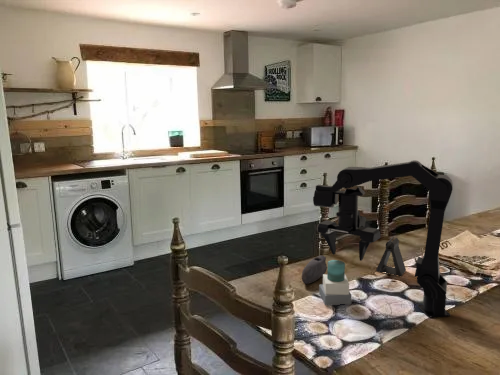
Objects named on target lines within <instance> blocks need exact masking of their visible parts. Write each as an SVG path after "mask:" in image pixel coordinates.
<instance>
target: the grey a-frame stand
mask: <svg viewBox="0 0 500 375" xmlns="http://www.w3.org/2000/svg"><path fill="white" fill-rule="evenodd" d="M399 243H400V240H399V238H398V237H391V238H390V239H389V240H388V241H387V242H385V250H384V252H383V254H382V256H381V259H380V260H379V263H378V265H377V267H376V270H375V271H376V272H378V271H380V272H379V273H382V272H386V273H385V274H387V273H388V274H389V273H390V274H389V275H391V274H394V275H393V276H396V275H398V276H397V277H400V276H401V277H402V276H403V275H404V273H406V271H407V269H406V266H405V262H404V259H403V256H402V252H401V249H400V246H399V245H400V244H399ZM391 255H392V256H391ZM390 256H391V257H392V262H393V266H392V267H391V266H389V265H388V262H389V259H390ZM387 265H388V266H387Z"/></svg>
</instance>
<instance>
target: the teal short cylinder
mask: <svg viewBox="0 0 500 375" xmlns="http://www.w3.org/2000/svg"><path fill="white" fill-rule="evenodd" d="M345 271H346V263H345V262H344V261H343V260H336V259H332V260H329V261H327V270H326V272H327V279H328V280H330V281H334V282H341V281H344V278H345V275H346V274H345Z"/></svg>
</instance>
